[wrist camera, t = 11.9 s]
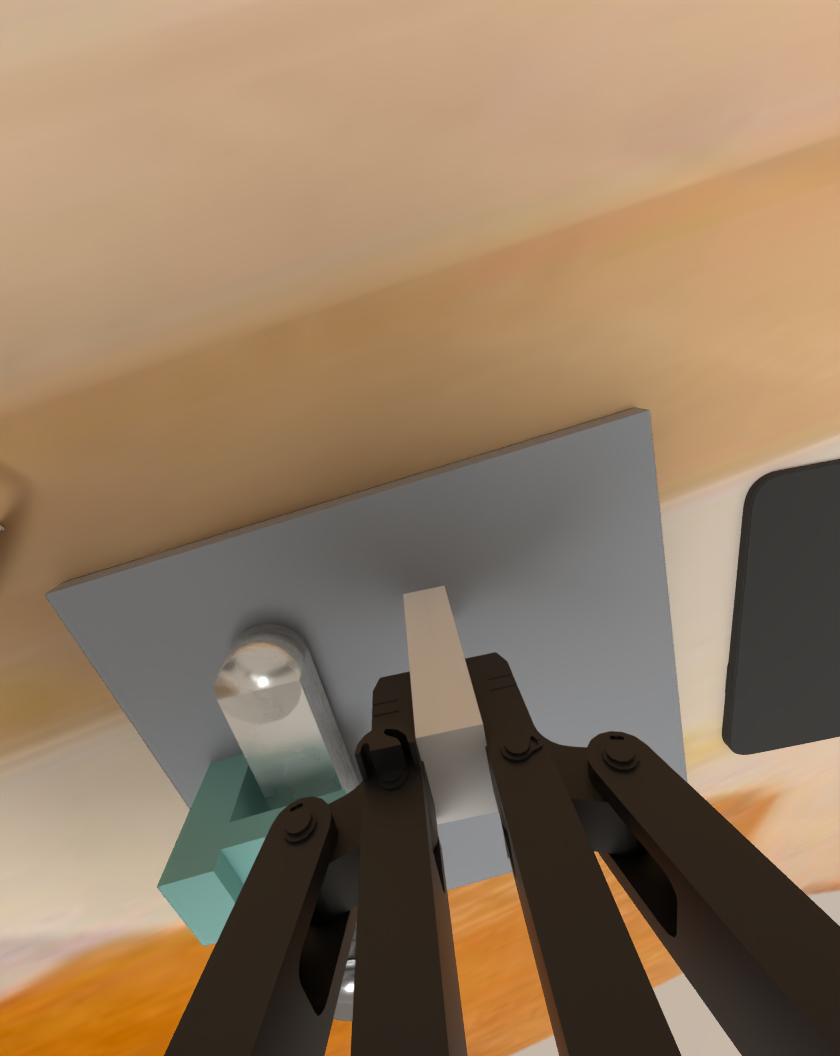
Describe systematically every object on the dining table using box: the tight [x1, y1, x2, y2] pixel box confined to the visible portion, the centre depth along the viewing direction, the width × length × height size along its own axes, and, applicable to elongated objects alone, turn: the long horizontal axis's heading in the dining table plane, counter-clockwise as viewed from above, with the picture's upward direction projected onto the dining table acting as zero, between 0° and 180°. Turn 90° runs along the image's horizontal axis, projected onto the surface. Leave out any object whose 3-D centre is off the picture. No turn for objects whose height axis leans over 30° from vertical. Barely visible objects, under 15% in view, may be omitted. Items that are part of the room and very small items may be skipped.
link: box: [214, 623, 359, 1021], centre depth 18 cm, size 17×4×5 cm, turn 13°
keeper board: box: [45, 408, 687, 946], centre depth 18 cm, size 22×23×6 cm
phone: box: [722, 459, 840, 755], centre depth 21 cm, size 7×1×15 cm
